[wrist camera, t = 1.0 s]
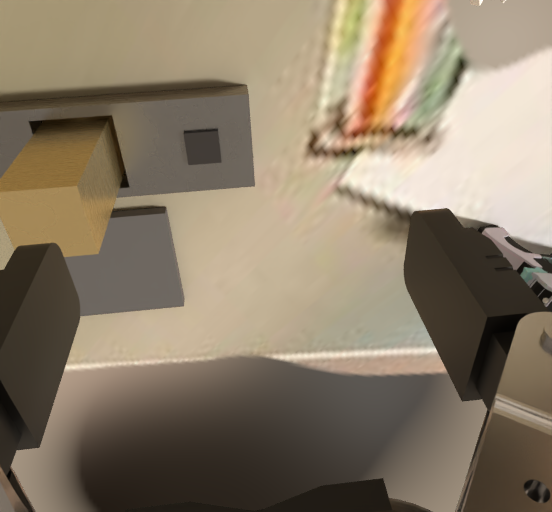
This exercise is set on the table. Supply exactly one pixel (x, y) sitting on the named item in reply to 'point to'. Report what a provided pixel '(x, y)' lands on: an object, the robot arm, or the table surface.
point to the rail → (154, 136)
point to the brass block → (63, 185)
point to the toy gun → (525, 263)
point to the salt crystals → (477, 1)
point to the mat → (129, 266)
